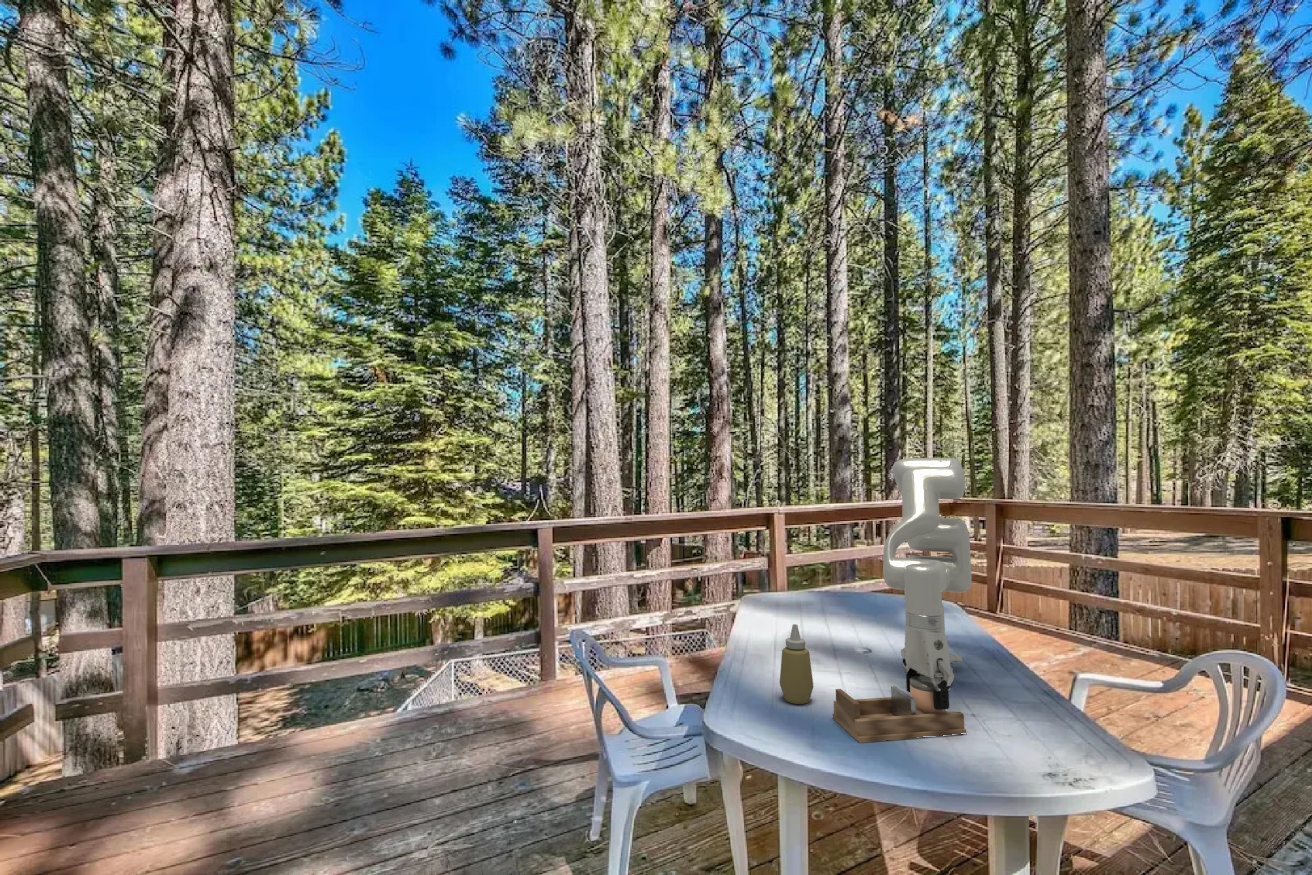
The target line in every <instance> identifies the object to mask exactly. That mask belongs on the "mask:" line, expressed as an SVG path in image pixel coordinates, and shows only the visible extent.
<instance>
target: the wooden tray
mask: <svg viewBox="0 0 1312 875" xmlns="http://www.w3.org/2000/svg"><path fill="white" fill-rule="evenodd" d="M832 719H833V720H834V721H835V722H836V723H838V725H840V726H841V727H842V728H843V729H844V730H845V731H846V732H847V733H848V734H849V735H850V736H852V737H853V738H854V739H855V740H856V741H857V742H858V743H859V744H865V743H876V741H877V742H878V741H880V742H887V741H886V740H893V741H902V740H904V739H905V740H913V739H912V738H917V737H923V736H943V735H952V734H961V733H966V734H967V729H966V728H965V715H964V713H963V712H961V711H951V712H948V711H947V710H945V713H933V714H919V715H905V716H896V715H895V714H894V713H892V705H891V696H890V697H874V698H873V697H872V698H857V699H854V698H853V697H851V695H849V694H848V693H847V692H845V691H844V690H843V689H842V688H836V689H835V700H833V713H832ZM878 743H879V742H878Z"/></svg>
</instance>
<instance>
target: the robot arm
mask: <svg viewBox="0 0 1312 875" xmlns="http://www.w3.org/2000/svg"><path fill="white" fill-rule="evenodd" d="M892 475H893V478H894V481H895V483H896V485H897V487H898V490H899V492H900V493H901V495H902V496H901V498H902V500H901V504H902V506H901V508H902V510H901V511H902V516H901V517H902V519H901V521H900V522H898V524H897V525H896V526H894V527H893V528H892V529H891V531H890V533H889V534H888V535H887V538H886V539H885V543H884V546H883V554H882V555H883V558H882V559H883V560H882V564H883V565H882V566H883V567H882V570H883V571H882V572H883V574H882V575H883V579H884V582H885V584H886V585H887V587H888V588H891V589H892V590H898V591H899V590H900V591H904V610H905V611H904V613H905V614H904V615H905V632H904V648H902V649H900V654H901V658H902V663H903V664H902V665H903V668H904V673H905V680H906V681H905V683H906V684H905V685H906V692H908V693H910V678H911V677H915V676H926V677H928V678H931V680H932V682H933V685H934V687H935V690H933V701H934V709H936V710H943V709H945V710H949V708H950V699H949V698H950V695H949V692H950V691H951V687H952V686H953V681H954V678H955V674H954V670H953V667H952V666H951V665H952V664H953V663H962V662H963V658H962V655H961V654H955V655H954V654H953V655H952V654H951V653H949V652H950V651H949V646H948V640H947V636H946V630H945V629H946V628H945V627H946V626H945V625H946V624H945V623H946V622H945V621H946V620H945V609H944V606H943V597H942V596H943V595H942V593H943V592H947V593H948V592H949V593H966V592H968V591H969V590H970V589H971V587H972V577H973V576H972V563H971V562H972V561H971V560H972V559H971V558H972V557H971V544H970V543H971V542H970V532H969V528H968V527H967V524H966V523H965V521H964V520H962V519H959V518H950V517H946V518H945V517H944V518H943V517H940V503H939V502H940V501H939V500H960V499H962V498H963V496H964V494H965V490H966V478H965V474H964V470H963V465H962V463H961V461H960V460H959V459H957V458H955V457H912V458H911V457H910V458H902V459H901V458H900V459H898V460H896V461H895V462H894V463H893V466H892ZM904 543H907V545H908V547H909V548H911V549H913V550H915V551H918V552H919V551H920V552H932V553H933V552H934V553H935V552H936V553H937V552H938V553H948V554H950V555H952V557H951V556H936V555H911V556H908V557H896V552H897V550H898V548H899V547H900V546H901V545H902V544H904ZM937 679H938V680H940V681H941V682H940V683H938V681H937Z"/></svg>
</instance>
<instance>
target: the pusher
mask: <svg viewBox="0 0 1312 875" xmlns="http://www.w3.org/2000/svg"><path fill="white" fill-rule="evenodd" d="M890 697H891V705H892V713H894V714H895V715H896V716H905V715H919V714H924V713H923V712H921V711H920V710H918V709H917V708H916V707H915V699H914V698H912V697H911V696H910V694H908V693H906V692H905V691H903V690H901V689H900V688H899V687H897V686H895V685H891V686H890Z"/></svg>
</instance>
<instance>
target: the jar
mask: <svg viewBox="0 0 1312 875" xmlns="http://www.w3.org/2000/svg"><path fill="white" fill-rule="evenodd" d="M937 681H938V683H940V682H941V679H937ZM933 690H935V687H934V685H933V682H932V680H931V678H928V677H926V676H924V675H920V676H915V677H911V678H910V692H909V693H910V694H909V696H911V697H912V698H914V699H915V707H916V708H917V709H918V710H920V711H921V712H923V713H924V714H933V713H945V711H946V709H943V710H936V709H934V701H933Z"/></svg>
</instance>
